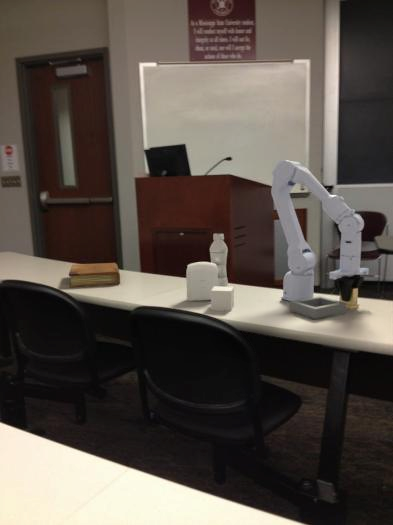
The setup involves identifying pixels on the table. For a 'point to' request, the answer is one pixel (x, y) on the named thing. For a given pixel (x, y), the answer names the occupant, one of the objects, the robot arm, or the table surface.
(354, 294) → the yellow block
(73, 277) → the diary
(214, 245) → the plastic bottle
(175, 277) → the table surface
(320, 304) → the grey well
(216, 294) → the off-white cube
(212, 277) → the photo printer
